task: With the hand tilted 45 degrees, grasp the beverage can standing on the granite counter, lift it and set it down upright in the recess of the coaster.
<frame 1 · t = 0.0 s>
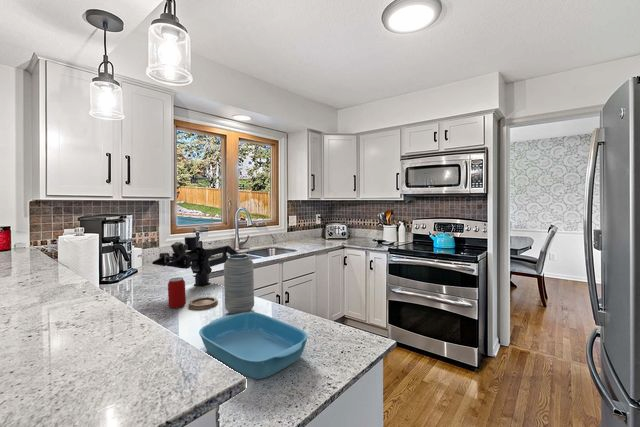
hand: (159, 263, 142), 17 cm above the countertop, tool horizontal, fingers open, 9 cm apart
vase: (240, 311, 127), on the countertop
coaster: (203, 304, 135), on the countertop
beverage can: (177, 306, 134), on the countertop
casserole dish: (252, 354, 93), on the countertop
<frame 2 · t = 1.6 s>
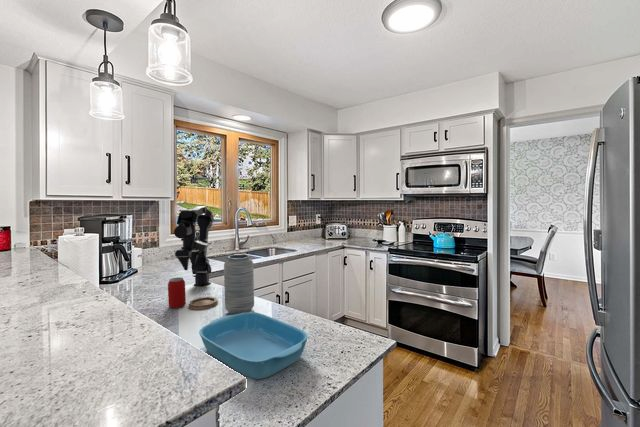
hand: (190, 268, 148), 13 cm above the countertop, tool pointing down, fingers open, 9 cm apart
nothing on the countertop moved.
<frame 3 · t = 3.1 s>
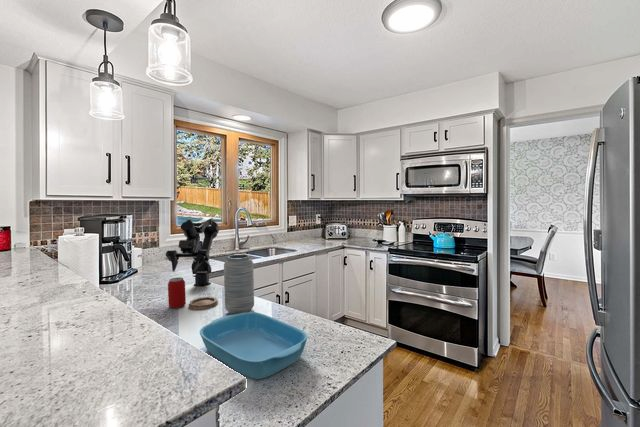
hand: (183, 271, 141), 13 cm above the countertop, tool tilted 45°, fingers open, 9 cm apart
nothing on the countertop moved.
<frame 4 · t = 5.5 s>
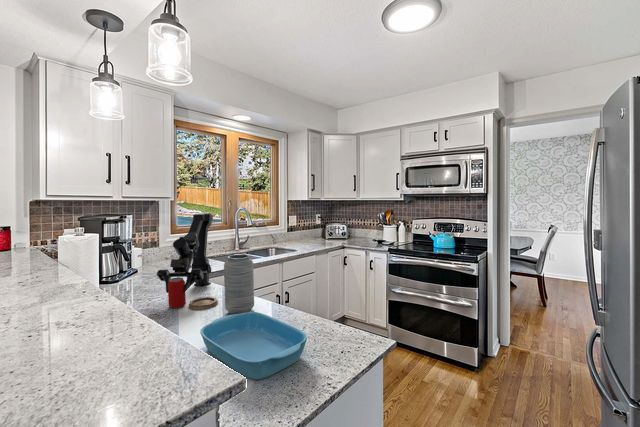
hand: (175, 292, 132), 7 cm above the countertop, tool tilted 45°, fingers closed on beverage can, 7 cm apart
beverage can: (177, 306, 134), on the countertop, touching gripper
everything else where it was.
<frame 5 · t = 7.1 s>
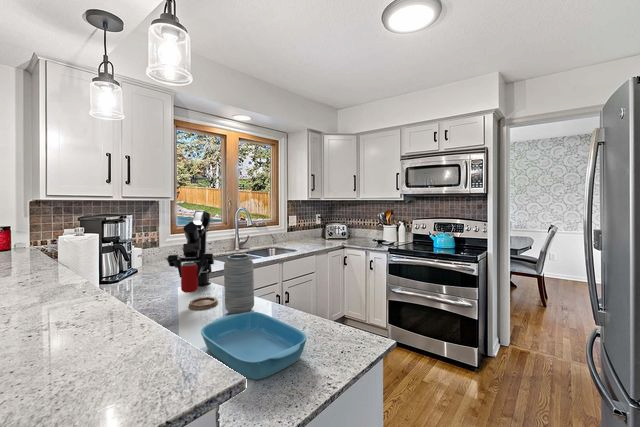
hand: (189, 276, 132), 13 cm above the countertop, tool tilted 45°, fingers closed on beverage can, 7 cm apart
beverage can: (189, 291, 134), point 6 cm above the countertop, touching gripper
everything else where it was.
when the fingers open (8 cm above the countertop, at t = 8.8 s): beverage can stays where it is, resting on coaster.
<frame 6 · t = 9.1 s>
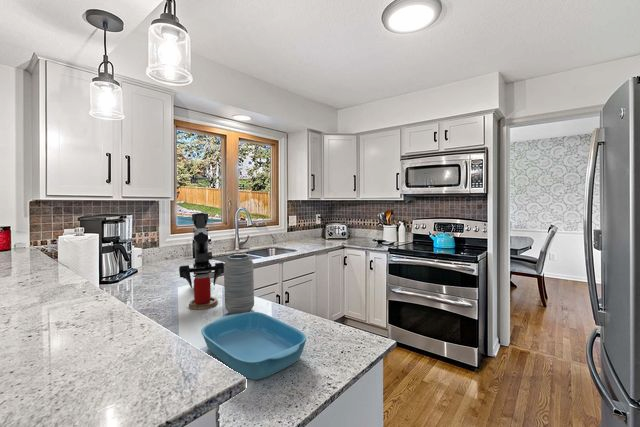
hand: (202, 286, 134), 9 cm above the countertop, tool tilted 45°, fingers open, 9 cm apart
beverage can: (202, 303, 135), point 1 cm above the countertop, touching coaster
everything else where it was.
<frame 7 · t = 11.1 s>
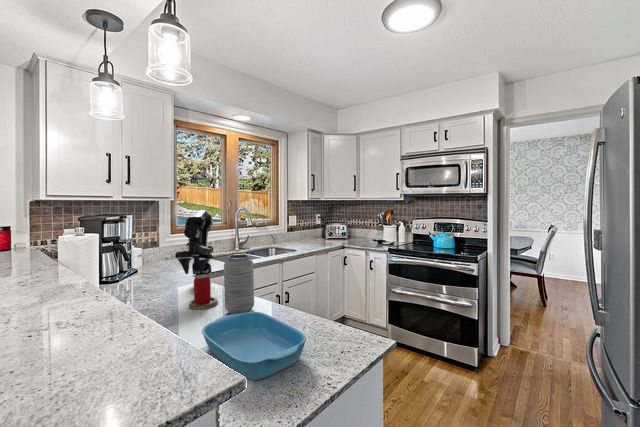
hand: (194, 273, 146), 11 cm above the countertop, tool tilted 15°, fingers open, 9 cm apart
nothing on the countertop moved.
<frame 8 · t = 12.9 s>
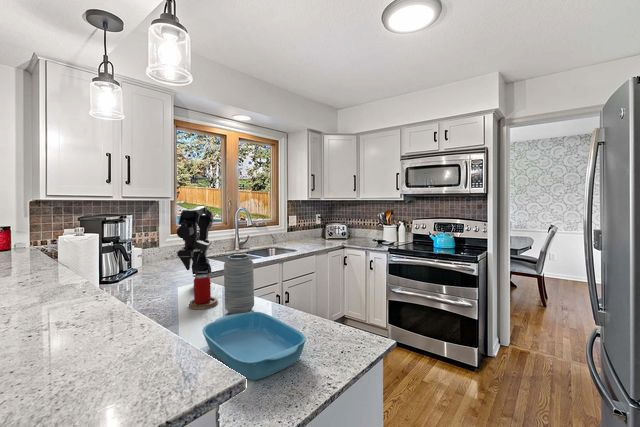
hand: (191, 267, 149), 13 cm above the countertop, tool pointing down, fingers open, 9 cm apart
nothing on the countertop moved.
at the end: beverage can 0.3 cm from the coaster (horizontally); beverage can tilted 0°; beverage can point 0.6 cm above the countertop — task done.
